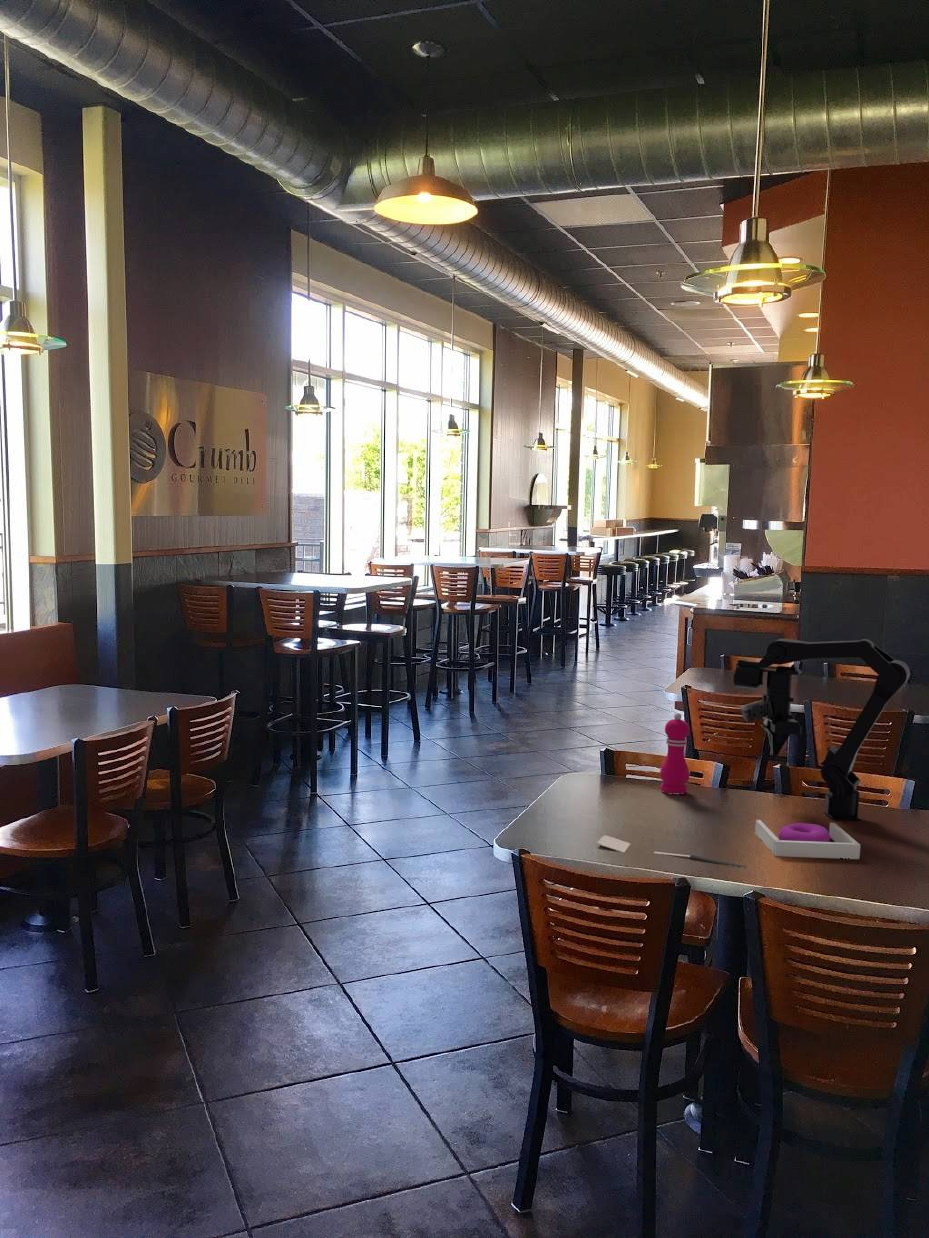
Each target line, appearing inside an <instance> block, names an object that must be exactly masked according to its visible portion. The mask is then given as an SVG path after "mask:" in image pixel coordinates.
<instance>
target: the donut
mask: <svg viewBox="0 0 929 1238" xmlns="http://www.w3.org/2000/svg"><path fill="white" fill-rule="evenodd" d="M778 839H779V840H786V841H812V842H830V840H832V839H831V837H830V834H829V830H828V829H827V828H825V827H824V826H821V825H820V824H814V823H800V822H797V823H791V824H790V823H789V824H787V825H785V826H783V827H782V828H781V829H780V831H779V832H778Z"/></svg>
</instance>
